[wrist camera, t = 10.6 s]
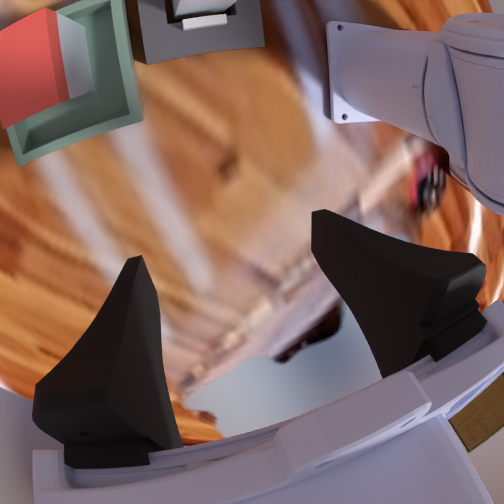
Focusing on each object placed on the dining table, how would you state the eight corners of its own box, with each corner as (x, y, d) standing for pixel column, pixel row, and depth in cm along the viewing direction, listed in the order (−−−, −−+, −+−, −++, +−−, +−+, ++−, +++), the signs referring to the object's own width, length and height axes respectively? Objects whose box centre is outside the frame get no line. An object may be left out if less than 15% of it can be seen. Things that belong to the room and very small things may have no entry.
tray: (124, -3, 11) (120, -13, 10) (144, 114, 17) (142, 120, 15) (7, 46, 10) (-10, 46, 8) (32, 155, 15) (18, 167, 13)
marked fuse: (84, 26, 11) (45, 7, 6) (95, 90, 14) (60, 103, 9) (41, 44, 11) (-14, 39, 5) (52, 106, 14) (3, 130, 8)
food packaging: (423, 344, 51) (486, 435, 32) (396, 350, 47) (465, 457, 28) (461, 293, 45) (539, 388, 25) (439, 294, 41) (528, 406, 22)
